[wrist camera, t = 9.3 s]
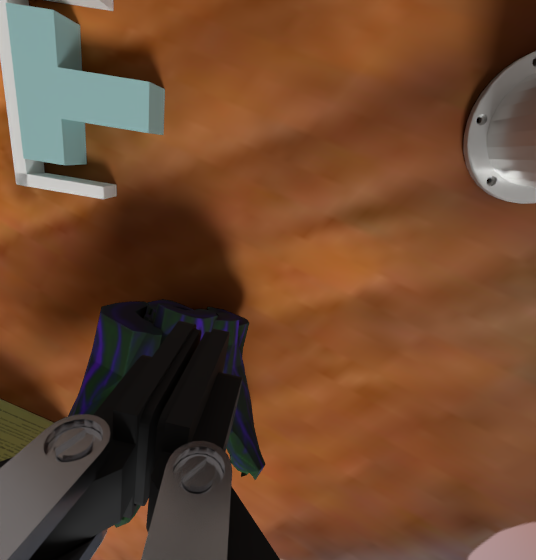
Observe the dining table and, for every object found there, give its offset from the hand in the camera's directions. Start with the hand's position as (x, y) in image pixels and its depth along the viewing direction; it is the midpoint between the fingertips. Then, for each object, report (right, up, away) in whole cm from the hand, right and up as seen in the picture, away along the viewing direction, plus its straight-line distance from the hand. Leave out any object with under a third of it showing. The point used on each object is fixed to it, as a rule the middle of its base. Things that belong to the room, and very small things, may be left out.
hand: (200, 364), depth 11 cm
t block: (-14, +20, +21) cm, 32 cm away
